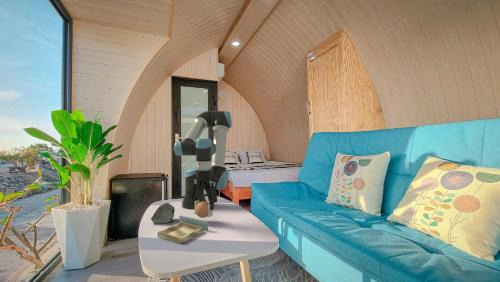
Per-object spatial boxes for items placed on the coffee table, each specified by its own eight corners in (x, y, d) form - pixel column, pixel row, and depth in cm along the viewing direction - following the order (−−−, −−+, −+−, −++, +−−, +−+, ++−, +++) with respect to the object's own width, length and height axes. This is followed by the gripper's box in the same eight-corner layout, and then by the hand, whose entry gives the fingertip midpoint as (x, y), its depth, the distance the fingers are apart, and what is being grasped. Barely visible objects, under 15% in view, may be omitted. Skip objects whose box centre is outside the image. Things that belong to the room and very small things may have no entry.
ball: (202, 213, 115) (202, 198, 114) (214, 216, 111) (214, 200, 111) (191, 218, 108) (191, 202, 107) (204, 221, 104) (204, 204, 104)
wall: (180, 223, 107) (180, 215, 107) (208, 230, 99) (208, 221, 99) (179, 224, 106) (179, 215, 106) (206, 231, 98) (206, 222, 98)
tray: (181, 226, 103) (181, 221, 103) (203, 231, 97) (203, 227, 97) (157, 236, 92) (157, 231, 92) (180, 243, 85) (180, 238, 85)
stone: (160, 203, 105) (171, 198, 115) (146, 216, 106) (158, 209, 116) (172, 219, 104) (182, 212, 114) (157, 232, 105) (169, 223, 115)
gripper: (182, 168, 110) (182, 213, 111) (215, 172, 101) (215, 221, 101) (193, 167, 117) (193, 209, 117) (225, 170, 107) (225, 216, 108)
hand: (203, 214), depth 109 cm, fingers closed on ball, 8 cm apart
